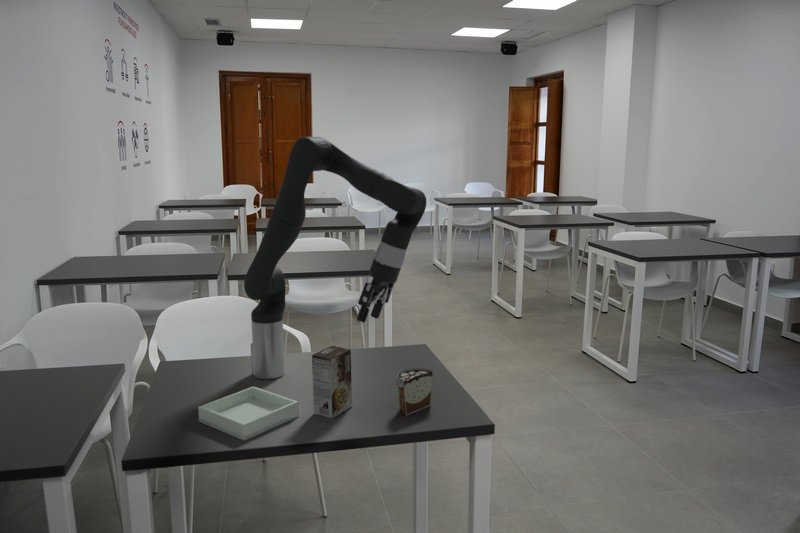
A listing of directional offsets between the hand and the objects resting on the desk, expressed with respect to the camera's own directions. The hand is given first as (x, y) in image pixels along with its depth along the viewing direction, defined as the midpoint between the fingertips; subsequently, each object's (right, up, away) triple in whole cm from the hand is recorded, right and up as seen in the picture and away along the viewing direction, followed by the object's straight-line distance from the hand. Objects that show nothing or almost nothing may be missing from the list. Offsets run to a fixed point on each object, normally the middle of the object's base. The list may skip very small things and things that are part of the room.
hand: (367, 319), depth 168 cm
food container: (+11, -24, +3) cm, 27 cm away
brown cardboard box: (-9, -24, +1) cm, 26 cm away
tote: (-30, -25, -4) cm, 39 cm away
